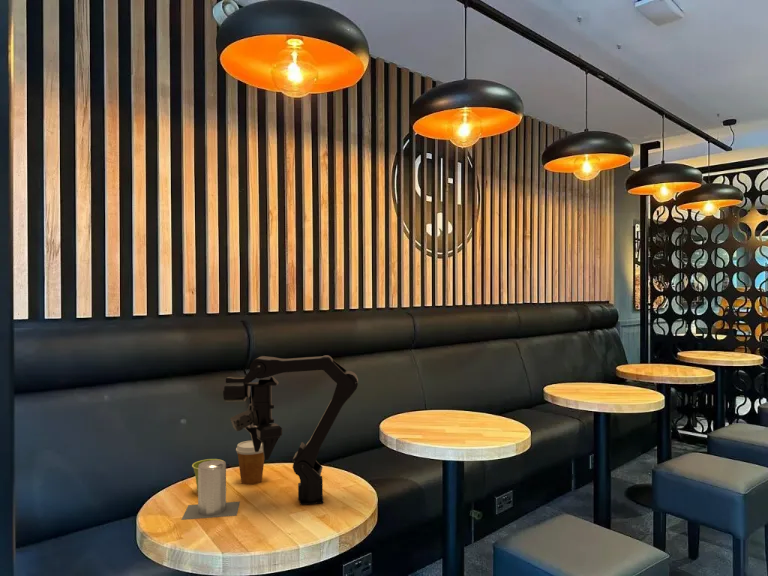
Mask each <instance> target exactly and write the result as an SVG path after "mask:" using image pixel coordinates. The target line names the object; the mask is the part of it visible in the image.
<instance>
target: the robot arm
mask: <svg viewBox="0 0 768 576" xmlns="http://www.w3.org/2000/svg"><path fill="white" fill-rule="evenodd" d="M310 371H312V372H313V371H323V372H324V373H326V375H327V376H329V378H330V379H332V381H334V382H335V383H336V386H335V388H334V392H333V394H332V398H331V399H330V401H329V403H328V406H327V407H326V409H325V411H324V413H323V414H322V416H321V418H320V419H319V422H318V424H317V426H316V428H315V430H314V431H313V433H312V435H311V436H310V439H309V440H308V441H307V443H306V444H305V443H304V441H302V442H300V445H299V448H298V450H297V451H296V452H295V454H294V456H293V458H292V462H293V464H292V469H293V472H294V474H295V475H296V476H298V478H299V482H298V484H297V491H298V492H297V496H298V497H297V500H298V501H299V504H300V506H303V505H315V504H323V503H324V496H323V494H324V493H323V490H324V488H323V487H324V486H323V479H324V478H323V475H322V471H323V468H324V467H323V465H321V464H320V463H319V462H318V461H317V459H318V458H317V457H318V456H319V452H320V449H321V446H322V445H323V443H324V441H325V439H326V437H327V435H328V433H329V432H330V430H331V428H332V426H333V424H334V422H335V421H336V419H337V417H338V415H339V413H340V412H341V410H342V407H343V406H344V405H345V404H346V402H348V400H350V398H351V397H352V396H353V394H354V393H355V392H356V390H357V388H358V386H359V385H358V384H359V378H358V375H357V374H356V373H355V372H354V371H351V370H347V369H345V367H343V366H342V365H341V364H340V363H338V361H337V362H336V360H334V359H333V358H332V356H330V355H328V354H327V355H323V356H321V355H320V356H305V357H293V358H280V357H276V356H275V357H274V356H265V355H261V356H259V357H256V358H255V359H253V360H252V361H251V363H250V365H249V371H248V373H246V374H245V376H244V377H233V376H228V377H226V378H225V383H224V387H223V391H222V393H223V394H222V396H223V401H224V402H246V400H247V398H250V399H251V400H250V401H251V403H249V405H248V407H247V408H248V409H247V410H245V411H242V412H239V413H238V414H235V415H234V416H232V417H230V422H231V425H232V428H233V430H235V431H236V432H239V431H242V430H244V429H245V430H246V431H247V432H248V433H249V435H250V437H251V438H250V439H251V441H252V442H253V446H254V450H255V452H258V451H259V449H260V446H261V443H262V447H263V454H264V461H268V460H269V459H270V458H271V455H272V453H273V451H274V448H275V446H276V444H277V443H278V441H279V439H280V438H281V437H282V435H283V428H282V427H281V426H280V425H279V424H278V423H275V419H274V418H273V415H272V414H273V413H272V412H273V409H274V408H275V404H273V403H272V401H273V400H272V399H273V397H272V393H273V392H272V391H273V389H272V388H273V386H275V387H277V386H278V385H279V384H280V383H279V381H278V380H277V379H276V378H275V377H274V376H277V375H279V374H283V373H295V372H296V373H297V372H310ZM268 377H270V378H268ZM256 379H258V382H257V381H256V382H255V380H256ZM253 381H254V382H253Z"/></svg>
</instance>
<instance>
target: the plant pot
mask: <svg viewBox="0 0 768 576" xmlns="http://www.w3.org/2000/svg"><path fill="white" fill-rule="evenodd" d="M211 460H221V461H224V460H222V459H218V458H207V459H201V460H198V461H195V462H193V463H192V465H191V467H192V469H193V472H194V476H195V484H196V490H197V493H198V467H199V464H200V463H202V462H205V461H211Z"/></svg>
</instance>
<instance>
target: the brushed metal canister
mask: <svg viewBox="0 0 768 576" xmlns="http://www.w3.org/2000/svg"><path fill="white" fill-rule="evenodd" d="M221 460H222V459H219V460H211V461H205V462H202V463H200V464H199V467H198V492H197V498H198V499H197V502H198V503H197V504H198V513H199V514H201V515H206V516H207V515H216V514H220V513H222V512H223V511H225V509H226V502H227V464H226V461H224V460H223V461H221Z"/></svg>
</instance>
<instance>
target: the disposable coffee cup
mask: <svg viewBox="0 0 768 576" xmlns="http://www.w3.org/2000/svg"><path fill="white" fill-rule="evenodd" d="M235 451H236V454H237V459H238V468H239V475H240V482H241V484H242V485H256V484H259V483H262V482H263V473H264V464H265V459H264V454H263V447H262V443H261V446H260V449H259V451H258V452H255V450H254V446H253V442H252V440H246V441H241V442H238V444H237V445H236V448H235Z"/></svg>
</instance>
